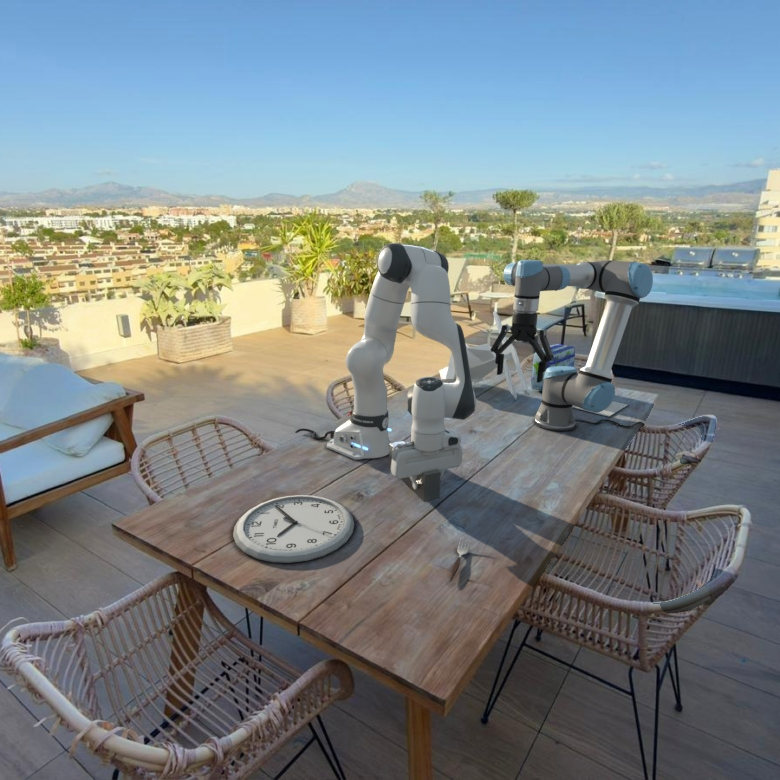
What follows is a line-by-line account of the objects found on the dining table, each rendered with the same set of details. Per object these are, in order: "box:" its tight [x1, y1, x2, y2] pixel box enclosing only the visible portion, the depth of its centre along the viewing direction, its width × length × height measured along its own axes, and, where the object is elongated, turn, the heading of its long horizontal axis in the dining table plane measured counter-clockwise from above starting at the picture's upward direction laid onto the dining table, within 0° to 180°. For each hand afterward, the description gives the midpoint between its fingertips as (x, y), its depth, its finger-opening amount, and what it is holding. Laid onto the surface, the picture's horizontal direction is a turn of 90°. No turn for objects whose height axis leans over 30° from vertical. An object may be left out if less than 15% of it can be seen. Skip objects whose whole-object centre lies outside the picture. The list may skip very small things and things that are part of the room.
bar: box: [388, 440, 442, 503], centre depth 149 cm, size 23×5×8 cm, turn 24°
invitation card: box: [573, 400, 629, 418], centre depth 226 cm, size 21×1×15 cm
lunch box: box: [530, 343, 576, 392], centre depth 248 cm, size 26×11×21 cm, turn 134°
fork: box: [449, 535, 471, 582], centre depth 119 cm, size 3×16×2 cm, turn 160°
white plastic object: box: [438, 310, 531, 400], centre depth 245 cm, size 37×45×31 cm
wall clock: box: [232, 494, 355, 564], centre depth 132 cm, size 30×2×30 cm
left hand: (426, 486), depth 142 cm, fingers closed on bar, 5 cm apart
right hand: (519, 377), depth 168 cm, fingers open, 13 cm apart
